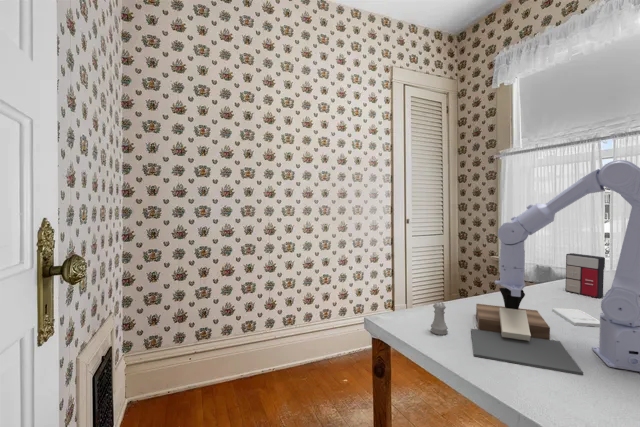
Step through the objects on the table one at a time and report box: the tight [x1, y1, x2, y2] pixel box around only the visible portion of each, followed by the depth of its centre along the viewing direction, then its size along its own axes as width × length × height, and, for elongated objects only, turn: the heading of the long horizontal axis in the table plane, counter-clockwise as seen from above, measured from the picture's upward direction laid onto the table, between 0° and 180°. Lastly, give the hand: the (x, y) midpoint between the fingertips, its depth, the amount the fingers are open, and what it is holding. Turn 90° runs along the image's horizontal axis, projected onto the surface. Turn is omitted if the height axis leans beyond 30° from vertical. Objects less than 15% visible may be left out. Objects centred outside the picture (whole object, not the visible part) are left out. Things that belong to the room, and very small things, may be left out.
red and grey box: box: [564, 252, 606, 299], centre depth 121 cm, size 11×4×15 cm, turn 25°
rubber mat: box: [470, 328, 584, 376], centre depth 75 cm, size 16×20×1 cm
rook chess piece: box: [430, 301, 449, 336], centre depth 85 cm, size 4×4×8 cm
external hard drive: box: [551, 307, 600, 328], centre depth 95 cm, size 2×8×12 cm
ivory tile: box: [499, 308, 531, 341], centre depth 82 cm, size 8×6×2 cm
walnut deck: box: [475, 303, 551, 340], centre depth 89 cm, size 14×16×4 cm
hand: (511, 315), depth 86 cm, fingers closed
